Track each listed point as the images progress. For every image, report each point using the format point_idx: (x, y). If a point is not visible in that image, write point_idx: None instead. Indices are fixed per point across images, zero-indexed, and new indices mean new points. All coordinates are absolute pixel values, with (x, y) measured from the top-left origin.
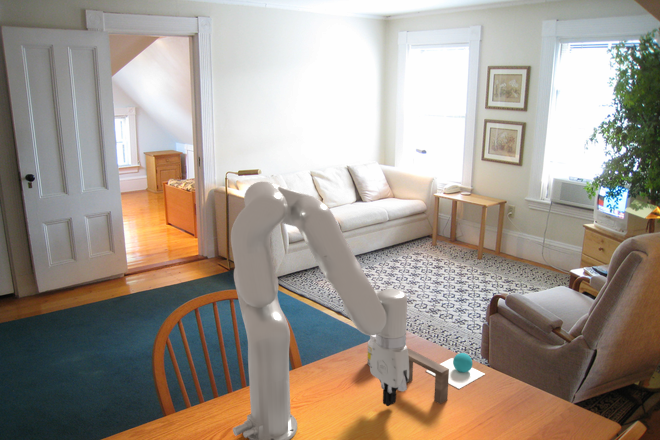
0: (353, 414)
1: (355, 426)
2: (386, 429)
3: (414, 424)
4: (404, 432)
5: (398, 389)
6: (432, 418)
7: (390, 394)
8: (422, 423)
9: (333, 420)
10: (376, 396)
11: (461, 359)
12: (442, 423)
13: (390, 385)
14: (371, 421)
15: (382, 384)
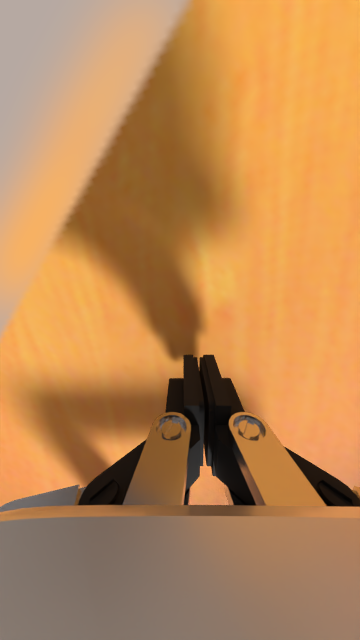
0: (274, 204)
1: (196, 136)
2: (90, 254)
3: (59, 365)
4: (36, 301)
5: (69, 497)
6: (57, 430)
7: (176, 411)
8: (50, 389)
9: (323, 54)
10: (287, 379)
11: None
12: (18, 434)
13: (17, 533)
14: (175, 239)
15: (263, 449)
